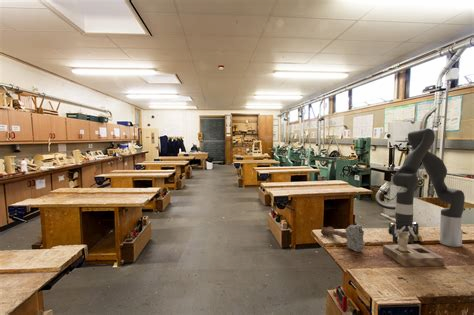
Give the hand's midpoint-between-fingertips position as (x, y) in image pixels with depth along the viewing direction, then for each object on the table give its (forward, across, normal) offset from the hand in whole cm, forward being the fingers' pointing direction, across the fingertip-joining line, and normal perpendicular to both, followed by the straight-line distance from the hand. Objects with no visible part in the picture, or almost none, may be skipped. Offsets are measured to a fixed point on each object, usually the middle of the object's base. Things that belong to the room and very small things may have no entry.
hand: (403, 242), depth 123 cm
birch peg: (+8, 0, 0) cm, 9 cm away
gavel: (+9, -22, -29) cm, 38 cm away
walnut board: (+8, -5, 0) cm, 10 cm away
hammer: (+9, +21, -22) cm, 32 cm away
